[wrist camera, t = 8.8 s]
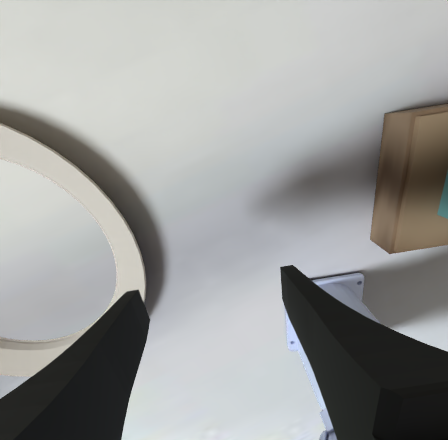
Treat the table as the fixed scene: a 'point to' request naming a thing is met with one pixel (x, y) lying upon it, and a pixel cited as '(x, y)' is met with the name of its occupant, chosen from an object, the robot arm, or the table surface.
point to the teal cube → (444, 200)
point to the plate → (103, 214)
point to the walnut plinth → (411, 180)
